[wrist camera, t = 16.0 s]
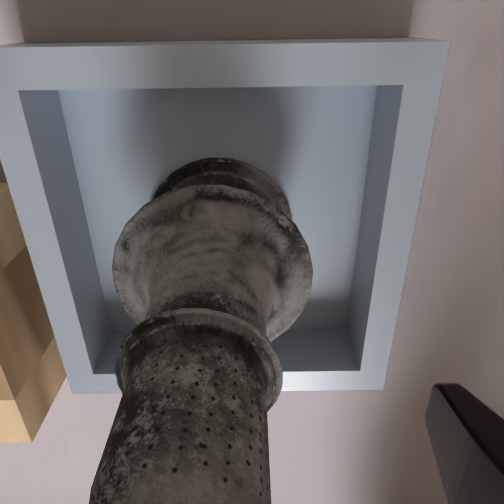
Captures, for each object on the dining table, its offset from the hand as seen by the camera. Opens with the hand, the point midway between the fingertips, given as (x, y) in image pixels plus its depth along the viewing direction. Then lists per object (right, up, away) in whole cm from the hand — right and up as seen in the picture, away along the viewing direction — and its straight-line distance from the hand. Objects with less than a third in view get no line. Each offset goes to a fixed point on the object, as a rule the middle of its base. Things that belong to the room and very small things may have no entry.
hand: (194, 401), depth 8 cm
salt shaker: (0, +4, +8) cm, 9 cm away
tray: (0, +4, +8) cm, 9 cm away
